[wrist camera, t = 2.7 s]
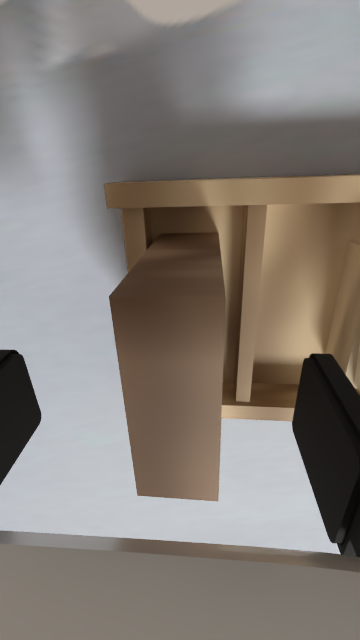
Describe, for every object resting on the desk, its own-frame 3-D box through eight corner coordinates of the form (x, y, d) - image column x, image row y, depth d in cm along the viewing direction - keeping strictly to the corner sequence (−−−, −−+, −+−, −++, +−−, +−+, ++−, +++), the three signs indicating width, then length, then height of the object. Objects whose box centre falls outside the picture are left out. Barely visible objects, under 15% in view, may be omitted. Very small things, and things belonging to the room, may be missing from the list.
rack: (479, 170, 14) (542, 170, 11) (399, 392, 20) (429, 427, 17) (122, 181, 16) (104, 183, 13) (143, 383, 21) (133, 414, 19)
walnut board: (218, 232, 16) (225, 297, 8) (215, 362, 19) (218, 501, 11) (160, 233, 16) (109, 296, 8) (168, 361, 19) (137, 495, 11)
